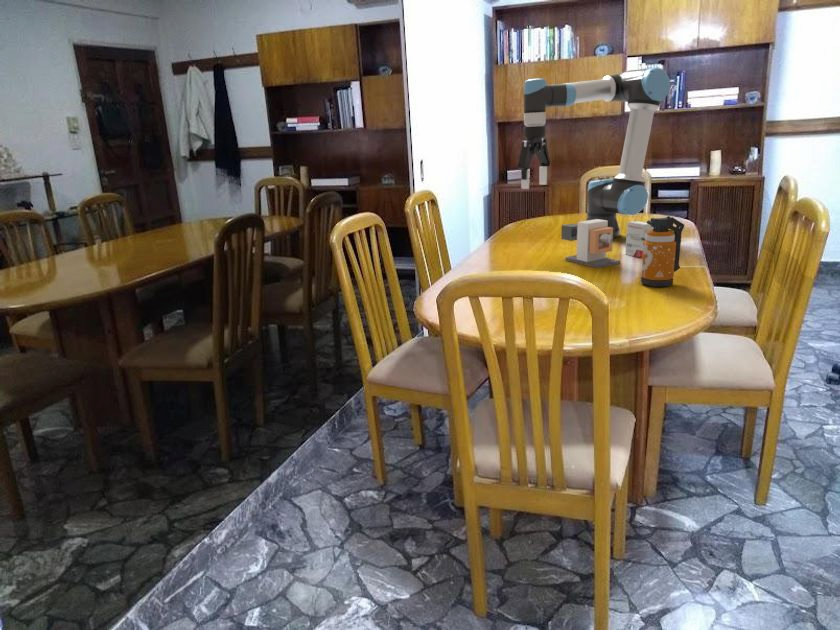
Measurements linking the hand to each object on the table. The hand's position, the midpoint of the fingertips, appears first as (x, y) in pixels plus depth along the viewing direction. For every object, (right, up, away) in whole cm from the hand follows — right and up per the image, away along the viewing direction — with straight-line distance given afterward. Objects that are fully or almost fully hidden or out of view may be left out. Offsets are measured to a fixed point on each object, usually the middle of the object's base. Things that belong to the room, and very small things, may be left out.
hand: (534, 186), depth 224 cm
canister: (+30, -38, -41) cm, 63 cm away
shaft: (+17, -21, -10) cm, 29 cm away
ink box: (+37, -26, -4) cm, 45 cm away
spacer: (+20, -21, -16) cm, 33 cm away
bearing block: (+18, -28, -10) cm, 35 cm away
